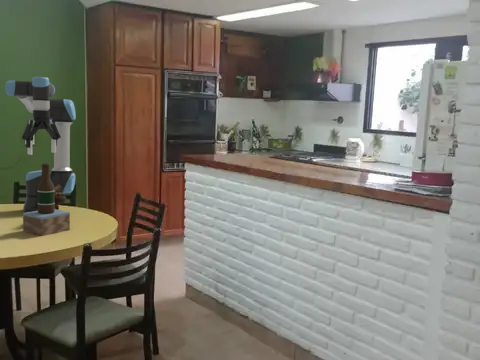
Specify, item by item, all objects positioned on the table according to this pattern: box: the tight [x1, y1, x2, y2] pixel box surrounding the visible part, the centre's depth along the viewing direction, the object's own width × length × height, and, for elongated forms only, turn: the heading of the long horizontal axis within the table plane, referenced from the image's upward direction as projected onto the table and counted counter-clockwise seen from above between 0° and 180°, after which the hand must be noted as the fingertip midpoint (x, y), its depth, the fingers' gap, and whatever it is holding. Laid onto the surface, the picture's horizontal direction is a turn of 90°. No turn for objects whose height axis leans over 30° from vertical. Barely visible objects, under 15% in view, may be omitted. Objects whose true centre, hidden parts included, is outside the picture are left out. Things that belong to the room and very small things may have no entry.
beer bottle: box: [37, 163, 55, 214], centre depth 242 cm, size 8×8×24 cm
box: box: [22, 213, 71, 237], centre depth 244 cm, size 16×14×8 cm
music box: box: [54, 185, 67, 210], centre depth 263 cm, size 15×11×20 cm
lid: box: [22, 209, 71, 219], centre depth 244 cm, size 16×14×1 cm
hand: (42, 153), depth 244 cm, fingers open, 13 cm apart
